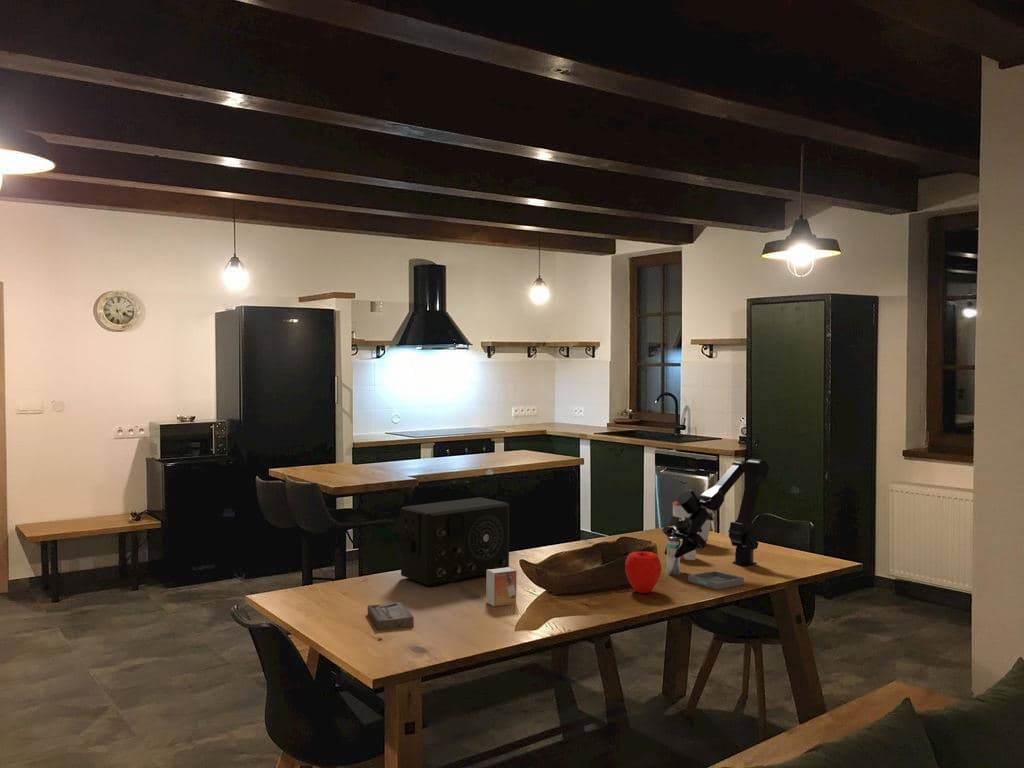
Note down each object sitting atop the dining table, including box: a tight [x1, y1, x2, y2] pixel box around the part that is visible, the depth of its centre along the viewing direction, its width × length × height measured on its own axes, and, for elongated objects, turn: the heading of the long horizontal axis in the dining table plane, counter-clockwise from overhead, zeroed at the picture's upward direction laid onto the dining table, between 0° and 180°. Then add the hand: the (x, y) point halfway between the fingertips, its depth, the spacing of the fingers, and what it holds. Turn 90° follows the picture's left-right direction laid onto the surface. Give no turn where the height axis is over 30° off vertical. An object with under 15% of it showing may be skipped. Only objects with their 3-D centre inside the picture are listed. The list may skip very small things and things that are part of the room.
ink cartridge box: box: [672, 526, 697, 561], centre depth 331 cm, size 9×5×15 cm, turn 84°
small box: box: [485, 566, 517, 607], centre depth 270 cm, size 8×6×10 cm
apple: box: [624, 550, 662, 594], centre depth 284 cm, size 12×12×13 cm
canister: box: [666, 536, 681, 576], centre depth 307 cm, size 5×5×13 cm
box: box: [367, 601, 415, 631], centre depth 252 cm, size 11×17×3 cm, turn 19°
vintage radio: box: [399, 496, 510, 588], centre depth 303 cm, size 38×20×25 cm, turn 129°
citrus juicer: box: [672, 500, 716, 543], centre depth 357 cm, size 16×17×20 cm
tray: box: [687, 569, 745, 591], centre depth 295 cm, size 13×13×2 cm
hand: (670, 555), depth 306 cm, fingers open, 5 cm apart
